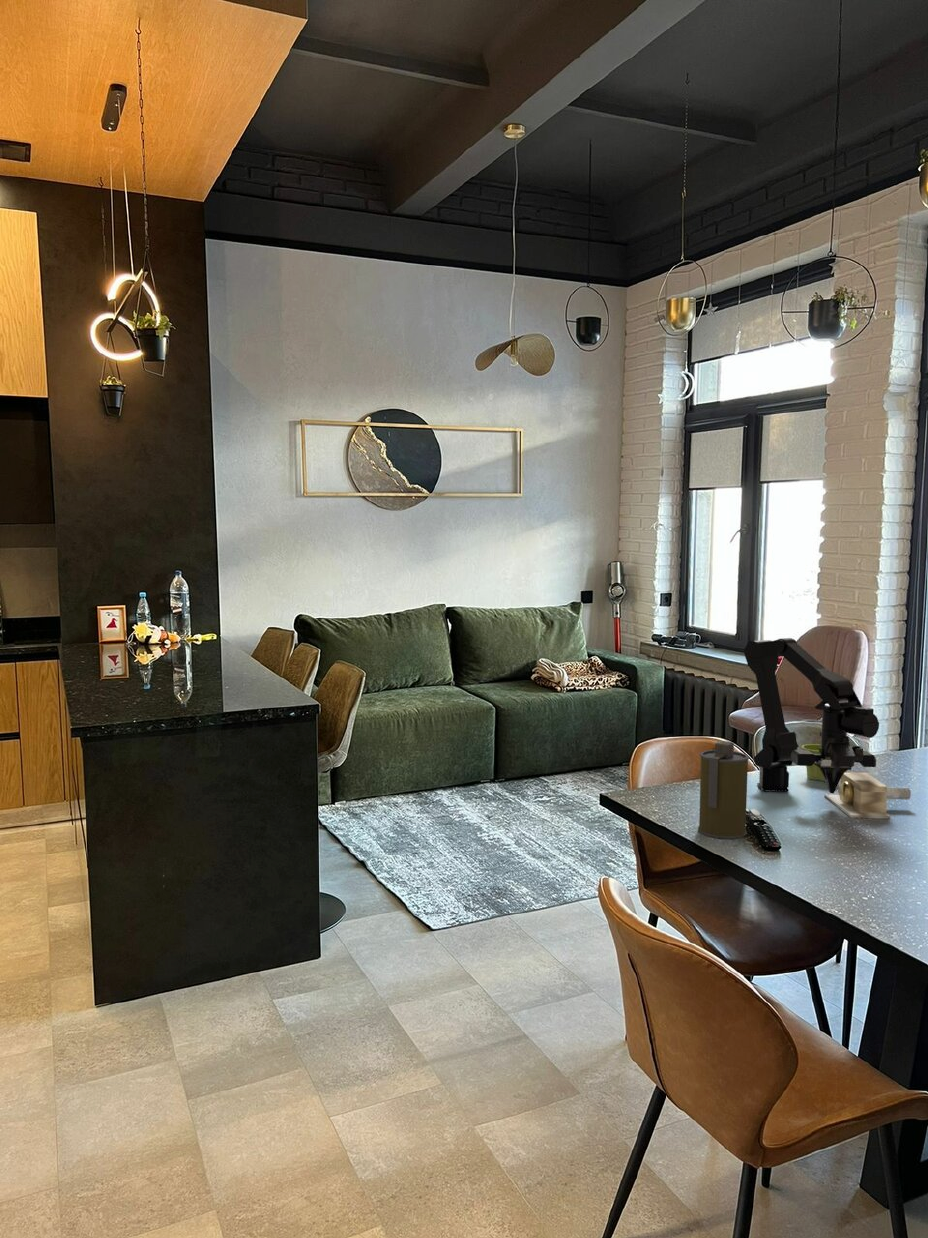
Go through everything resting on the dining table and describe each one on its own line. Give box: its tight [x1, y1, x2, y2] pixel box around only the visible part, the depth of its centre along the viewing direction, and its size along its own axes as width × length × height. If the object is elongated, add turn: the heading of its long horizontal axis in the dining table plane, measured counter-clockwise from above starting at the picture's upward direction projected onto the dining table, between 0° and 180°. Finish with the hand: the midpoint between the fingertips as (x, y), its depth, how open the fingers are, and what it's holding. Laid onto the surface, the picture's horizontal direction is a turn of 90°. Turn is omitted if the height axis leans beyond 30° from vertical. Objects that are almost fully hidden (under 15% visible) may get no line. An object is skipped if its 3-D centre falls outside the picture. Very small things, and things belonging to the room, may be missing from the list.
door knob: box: [838, 781, 911, 803], centre depth 220 cm, size 16×5×5 cm, turn 87°
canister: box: [697, 740, 750, 840], centre depth 200 cm, size 11×10×20 cm
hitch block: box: [824, 771, 891, 820], centre depth 220 cm, size 9×18×7 cm, turn 177°
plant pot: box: [801, 743, 825, 782], centre depth 248 cm, size 9×9×9 cm
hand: (831, 793), depth 221 cm, fingers closed
